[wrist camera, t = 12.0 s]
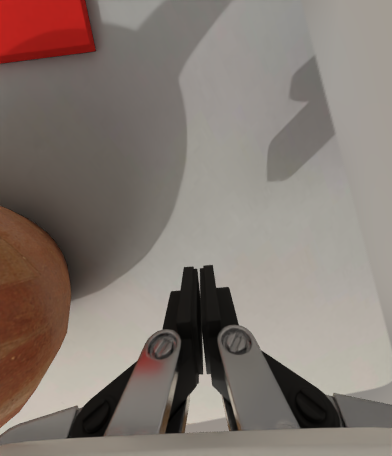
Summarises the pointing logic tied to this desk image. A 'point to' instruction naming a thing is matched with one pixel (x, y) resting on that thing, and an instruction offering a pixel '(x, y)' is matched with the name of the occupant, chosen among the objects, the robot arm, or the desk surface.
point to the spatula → (43, 29)
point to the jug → (29, 308)
